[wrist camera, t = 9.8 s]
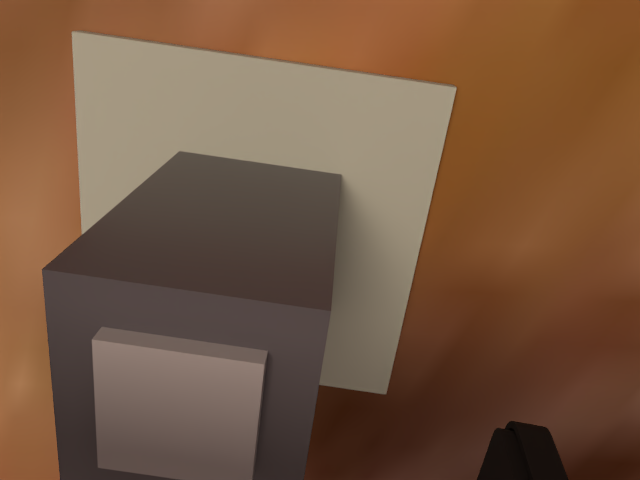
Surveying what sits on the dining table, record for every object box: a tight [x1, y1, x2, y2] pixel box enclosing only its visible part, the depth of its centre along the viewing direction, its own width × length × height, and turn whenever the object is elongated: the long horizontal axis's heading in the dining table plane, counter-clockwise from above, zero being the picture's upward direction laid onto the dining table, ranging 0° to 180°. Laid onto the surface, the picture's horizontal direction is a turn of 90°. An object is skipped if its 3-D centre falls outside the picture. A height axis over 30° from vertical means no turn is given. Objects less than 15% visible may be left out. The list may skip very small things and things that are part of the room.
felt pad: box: [72, 30, 457, 395], centre depth 18 cm, size 11×11×1 cm
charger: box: [42, 151, 342, 480], centre depth 14 cm, size 5×5×8 cm
